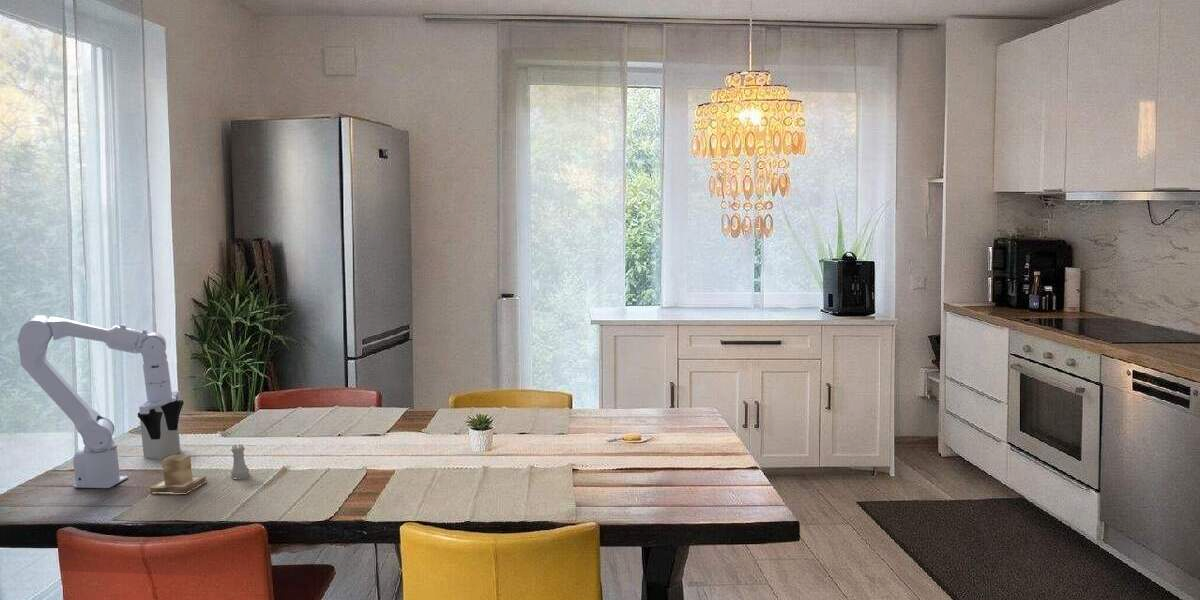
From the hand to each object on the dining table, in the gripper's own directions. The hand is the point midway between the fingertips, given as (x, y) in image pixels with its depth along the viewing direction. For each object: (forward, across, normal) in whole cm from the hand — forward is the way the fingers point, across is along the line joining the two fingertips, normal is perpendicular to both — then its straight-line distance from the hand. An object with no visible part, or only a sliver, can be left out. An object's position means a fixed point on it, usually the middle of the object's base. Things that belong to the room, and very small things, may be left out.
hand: (164, 434), depth 252 cm
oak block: (+9, -10, -8) cm, 15 cm away
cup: (+11, +18, +13) cm, 24 cm away
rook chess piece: (+11, 0, -19) cm, 22 cm away
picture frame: (+10, -10, -8) cm, 16 cm away
